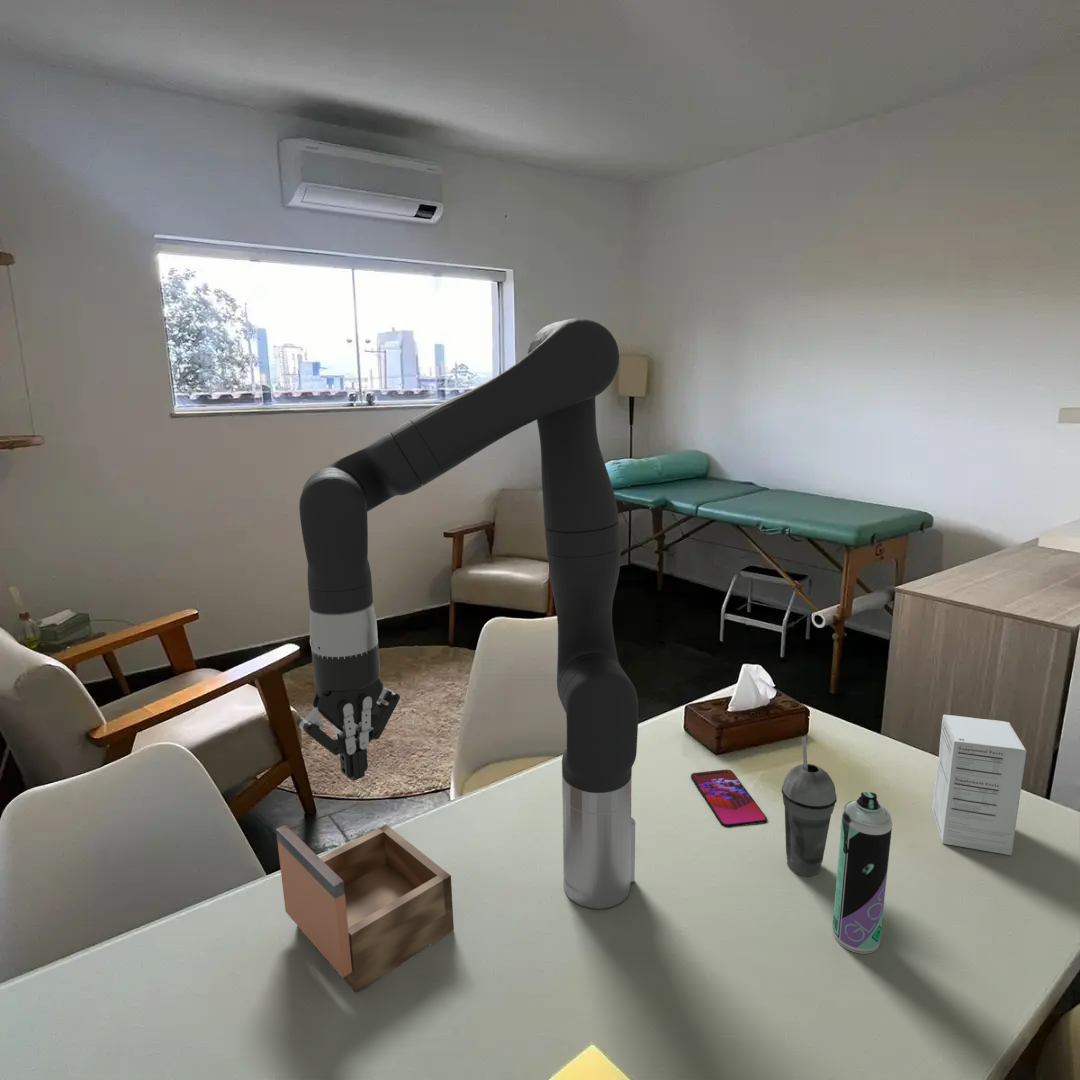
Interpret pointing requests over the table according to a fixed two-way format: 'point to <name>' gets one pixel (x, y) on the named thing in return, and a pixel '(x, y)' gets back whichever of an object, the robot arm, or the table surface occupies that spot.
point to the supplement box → (978, 783)
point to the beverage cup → (807, 815)
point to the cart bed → (389, 902)
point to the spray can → (862, 874)
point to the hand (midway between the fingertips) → (355, 776)
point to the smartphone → (728, 798)
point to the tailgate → (315, 899)
